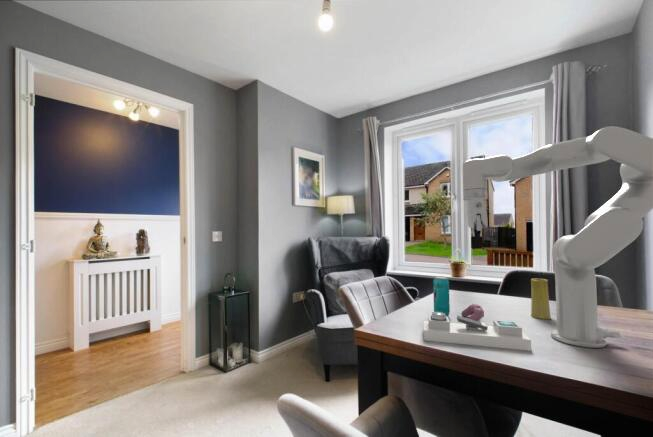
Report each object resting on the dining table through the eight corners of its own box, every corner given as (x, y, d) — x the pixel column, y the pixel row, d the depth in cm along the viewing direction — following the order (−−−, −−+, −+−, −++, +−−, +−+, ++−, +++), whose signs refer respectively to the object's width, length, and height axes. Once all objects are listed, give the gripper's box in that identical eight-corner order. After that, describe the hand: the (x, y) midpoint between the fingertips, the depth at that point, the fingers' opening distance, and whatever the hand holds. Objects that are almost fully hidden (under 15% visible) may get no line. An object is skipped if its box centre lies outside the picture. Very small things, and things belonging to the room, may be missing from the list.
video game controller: (479, 328, 104) (488, 311, 104) (467, 322, 105) (476, 305, 105) (471, 320, 114) (479, 304, 114) (459, 314, 115) (468, 298, 114)
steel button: (444, 320, 94) (444, 312, 94) (446, 323, 90) (445, 315, 90) (431, 319, 95) (431, 311, 95) (432, 322, 92) (432, 314, 92)
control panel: (519, 338, 90) (518, 320, 91) (531, 350, 81) (530, 330, 81) (423, 329, 99) (423, 313, 99) (424, 340, 89) (423, 321, 89)
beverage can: (432, 313, 118) (431, 276, 119) (447, 314, 117) (446, 276, 118) (435, 317, 112) (434, 278, 113) (451, 318, 112) (450, 278, 112)
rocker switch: (484, 326, 91) (485, 323, 91) (486, 330, 87) (487, 326, 87) (456, 318, 93) (457, 314, 93) (458, 321, 90) (459, 318, 90)
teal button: (512, 330, 88) (512, 322, 89) (517, 334, 85) (516, 326, 85) (497, 329, 90) (497, 321, 90) (501, 333, 86) (501, 325, 86)
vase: (531, 313, 117) (529, 277, 118) (550, 316, 113) (549, 279, 114) (530, 317, 112) (529, 279, 113) (551, 320, 108) (549, 281, 109)
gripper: (492, 192, 94) (494, 249, 93) (482, 197, 108) (484, 247, 107) (466, 193, 96) (468, 249, 95) (460, 198, 110) (461, 247, 110)
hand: (476, 248), depth 101 cm, fingers closed
